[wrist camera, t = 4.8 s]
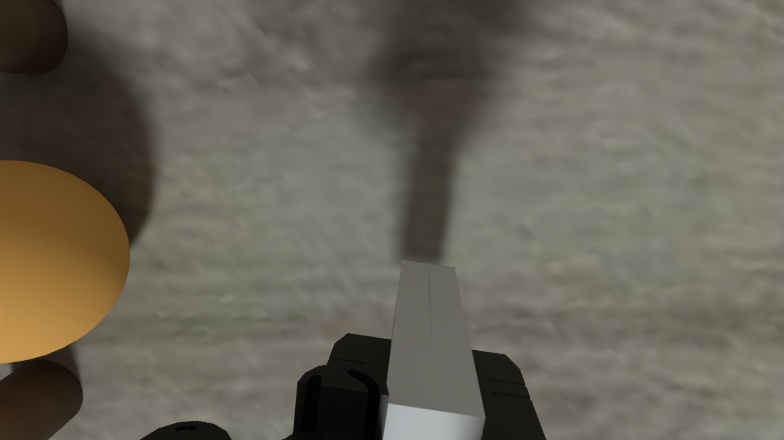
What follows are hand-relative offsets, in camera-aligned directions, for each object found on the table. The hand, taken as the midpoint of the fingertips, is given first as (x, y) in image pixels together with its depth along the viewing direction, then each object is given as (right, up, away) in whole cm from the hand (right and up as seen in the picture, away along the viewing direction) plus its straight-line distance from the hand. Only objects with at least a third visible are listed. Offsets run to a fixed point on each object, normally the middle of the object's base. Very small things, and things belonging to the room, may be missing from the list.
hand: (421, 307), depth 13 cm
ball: (-11, +1, -1) cm, 11 cm away
